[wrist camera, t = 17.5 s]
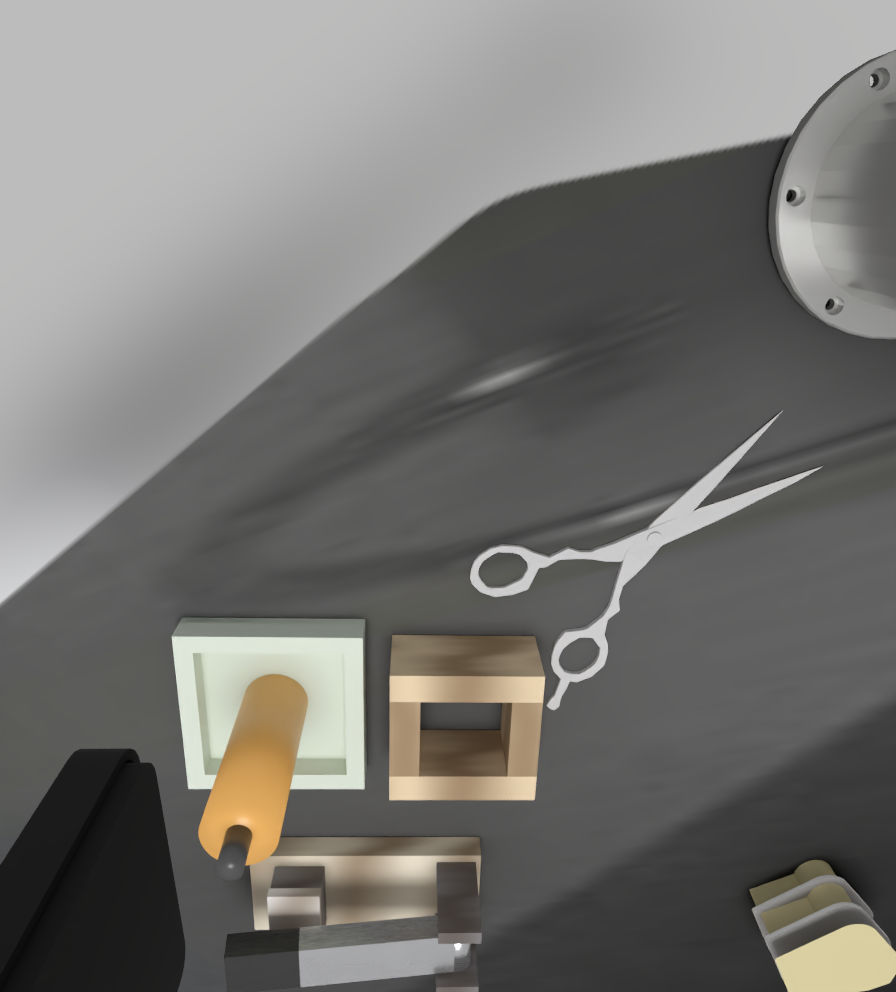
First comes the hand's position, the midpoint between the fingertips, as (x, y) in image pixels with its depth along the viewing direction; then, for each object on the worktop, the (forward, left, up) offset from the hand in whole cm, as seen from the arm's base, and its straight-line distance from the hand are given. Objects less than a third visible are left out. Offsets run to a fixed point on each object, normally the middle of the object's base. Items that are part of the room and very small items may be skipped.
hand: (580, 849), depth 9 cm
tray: (+10, +21, -32) cm, 40 cm away
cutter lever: (+5, +34, -27) cm, 44 cm away
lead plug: (+10, +21, -32) cm, 39 cm away
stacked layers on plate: (-24, +36, -33) cm, 54 cm away
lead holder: (-1, +21, -32) cm, 38 cm away
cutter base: (+5, +34, -32) cm, 47 cm away
